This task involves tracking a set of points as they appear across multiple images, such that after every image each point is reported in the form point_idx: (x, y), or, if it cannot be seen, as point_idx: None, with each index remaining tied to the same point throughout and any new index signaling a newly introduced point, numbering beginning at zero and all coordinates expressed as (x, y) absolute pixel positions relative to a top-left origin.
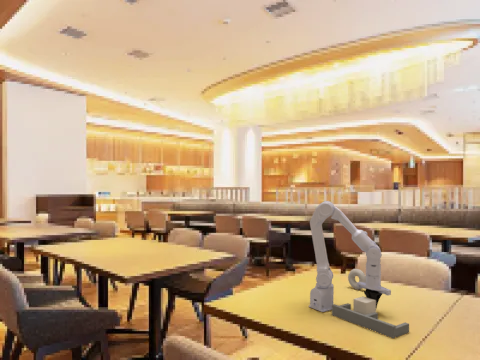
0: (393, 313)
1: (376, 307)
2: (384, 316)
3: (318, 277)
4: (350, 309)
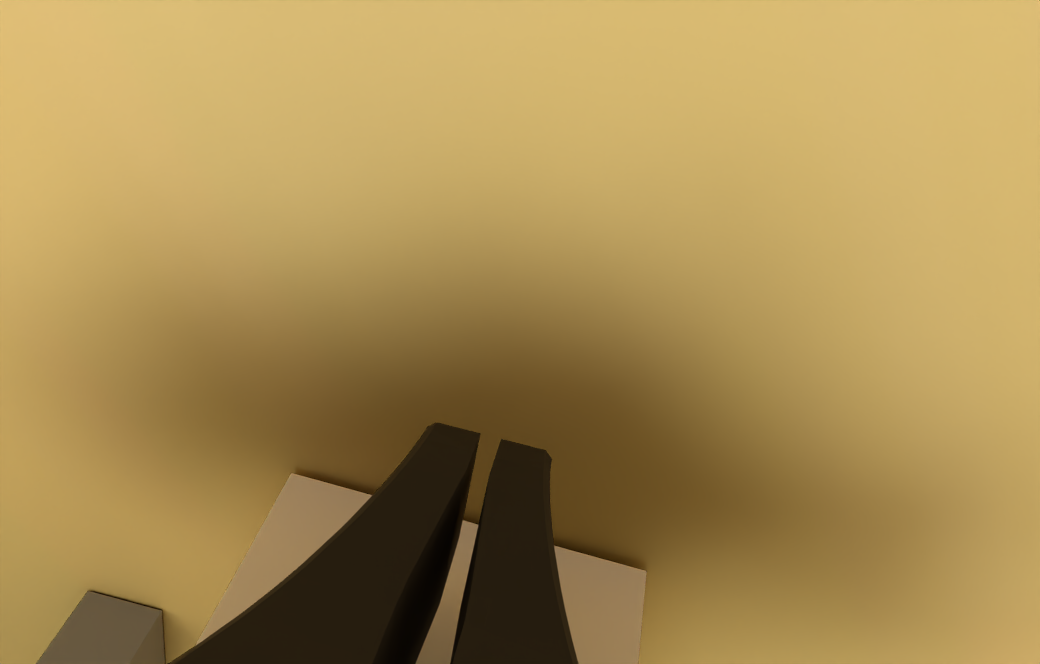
0: (1036, 117)
1: (549, 491)
2: (837, 503)
3: None
4: (137, 658)
